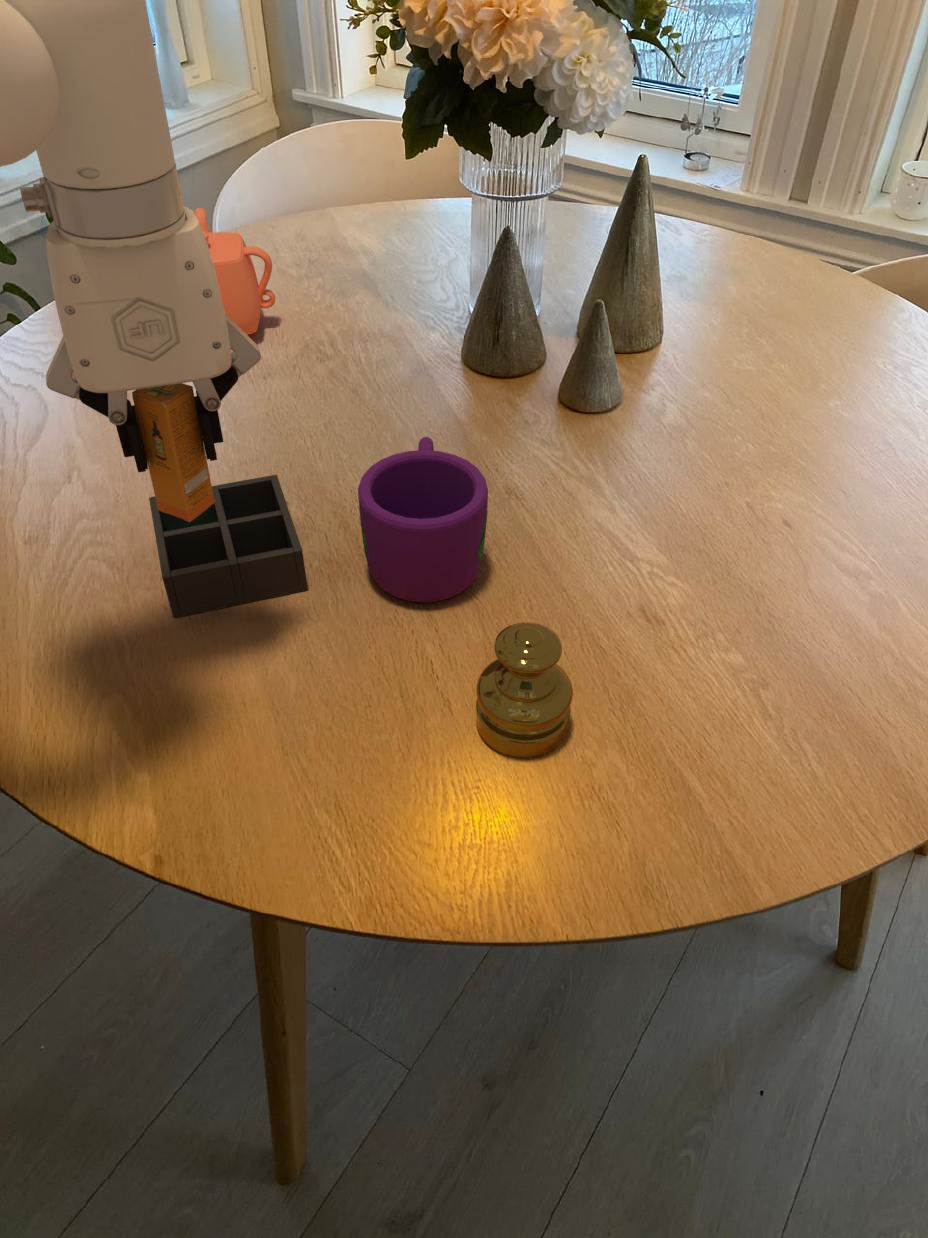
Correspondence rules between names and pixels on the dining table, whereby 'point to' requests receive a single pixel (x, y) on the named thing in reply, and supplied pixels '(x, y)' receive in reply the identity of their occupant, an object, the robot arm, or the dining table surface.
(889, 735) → the dining table surface
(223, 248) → the teapot
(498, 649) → the brass knobbed weight
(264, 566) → the rack
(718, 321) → the dining table surface
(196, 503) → the supplement box
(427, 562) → the mug
